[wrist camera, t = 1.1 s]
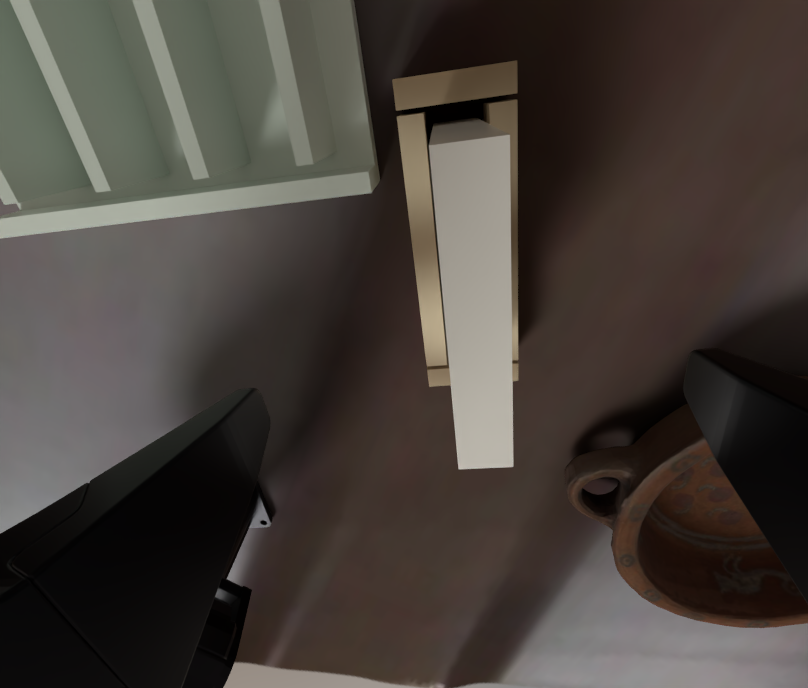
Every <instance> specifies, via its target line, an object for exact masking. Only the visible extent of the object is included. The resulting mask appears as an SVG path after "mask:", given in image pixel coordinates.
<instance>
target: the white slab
mask: <svg viewBox="0 0 808 688" xmlns="http://www.w3.org/2000/svg"><path fill="white" fill-rule="evenodd" d="M429 153H430V164H431V175H432V185H433V196H434V207H435V218H436V229H437V240H438V251H439V262H440V272H441V283H442V294H443V305H444V316H445V327H446V338H447V349H448V360H449V370H450V381H451V392H452V403H453V414H454V425H455V436H456V447H457V458H458V468H459V469H477V468H500V467H513V387H512V289H511V190H510V134H508V133H506V132H504V131H502V130H500V129H498V128H496V127H494V126H492V125H490V124H488V123H486V122H484V121H482V120H480V119H478V118H469V119H462V120H455V121H448V122H441V123H434V124H433V128H432V133H431V138H430V142H429Z"/></svg>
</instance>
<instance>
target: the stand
mask: <svg viewBox="0 0 808 688" xmlns="http://www.w3.org/2000/svg"><path fill="white" fill-rule="evenodd" d="M392 82H393V90H394V98H395V107H396V111H398V110H405V109H412V108H419V107H426V106H433V105H440V104H447V103H454V102H460V101H467V100H474V99H481V98H488V97H495V96H502V95H509V94H516V93H517V60H516V61H510V62H503V63H497V64H490V65H483V66H477V67H470V68H464V69H457V70H451V71H444V72H438V73H431V74H425V75H418V76H412V77H405V78H399V79H392ZM483 113H484V122H486V123H488V124H490V125H492V126H494V127H496V128H498V129H500V130H502V131H504V132H506V133H508V134H510V190H511V289H512V381H518V361H517V360H518V107H517V100H509V99H508V100H501V101H494V102H487V103H483ZM397 123H398V131H399V140H400V148H401V156H402V165H403V173H404V181H405V189H406V198H407V206H408V214H409V223H410V231H411V239H412V247H413V256H414V264H415V272H416V281H417V289H418V297H419V305H420V314H421V322H422V330H423V339H424V347H425V355H426V363H427V372H428V380H429V387H430V386H445V385H451V381H450V370H449V360H448V349H447V344H446V331H445V320H444V309H443V298H442V288H441V277H440V266H439V255H438V244H437V233H436V223H435V212H434V201H433V190H432V179H431V168H430V158H429V147H428V136H427V125H426V114H425V111H424V112H417V113H410V114H403V115H400V116H398V117H397Z"/></svg>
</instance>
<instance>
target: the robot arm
mask: <svg viewBox="0 0 808 688" xmlns="http://www.w3.org/2000/svg"><path fill="white" fill-rule="evenodd" d="M683 391H684V395H685V398H686V400H687V402H688V404H689V406H690V408H691V410H692V412H693V415H694V417H695V419H696V421H697V423H698V425H699V427H700V429H701V431H702V433H703V435H704V437H705V439H706V441H707V443H708V445H709V447H710V449H711V451H712V453H713V455H714V457H715V459H716V461H717V463H718V464H719V466H720V467H721V469H722V471H723V472H724V474H725V476H726V477H727V479H728V480H729V482H730V483H731V485H732V486H733V488H734V490H735V491H736V493H737V494H738V496H739V497H740V499H741V500H742V502H743V504H744V505H745V507H746V508H747V510H748V511H749V513H750V515H751V516H752V518H753V519H754V521H755V522H756V524H757V525H758V527H759V529H760V530H761V532H762V533H763V535H764V536H765V538H766V539H767V541H768V543H769V544H770V546H771V547H772V549H773V550H774V552H775V554H776V555H777V557H778V558H779V560H780V561H781V563H782V564H783V566H784V568H785V569H786V571H787V572H788V574H789V575H790V577H791V578H792V580H793V582H794V583H795V585H796V586H797V588H798V589H799V591H800V593H801V594H802V596H803V597H804V599H805V600H806V602H807V603H808V380H807V379H805V378H802V377H799V376H796V375H793V374H790V373H787V372H784V371H781V370H778V369H775V368H772V367H769V366H767V365H764V364H761V363H758V362H755V361H752V360H749V359H746V358H743V357H740V356H737V355H734V354H731V353H728V352H726V351H723V350H720V349H716V348H710V349H699V350H694V351H692V352H691V353H690V355H689V358H688V362H687V367H686V373H685V378H684V383H683ZM269 429H270V417H269V414H268V412H267V409H266V406H265V404H264V401H263V398H262V395H261V393H260V392H259V390H257V389H256V388H249V389H240V390H237V391H235V392H234V393H232V394H231V395H229V396H227V397H226V398H224V399H222V400H221V401H219V402H218V403H216V404H214V405H213V406H211V407H209V408H208V409H206V410H205V411H203V412H201V413H200V414H198V415H196V416H195V417H193V418H192V419H190V420H188V421H187V422H185V423H183V424H182V425H180V426H178V427H177V428H175V429H174V430H172V431H170V432H169V433H167V434H165V435H164V436H162V437H161V438H159V439H157V440H156V441H154V442H152V443H151V444H149V445H148V446H146V447H144V448H143V449H141V450H139V451H138V452H136V453H135V454H133V455H131V456H130V457H128V458H126V459H125V460H123V461H122V462H120V463H118V464H117V465H115V466H113V467H112V468H110V469H109V470H107V471H105V472H104V473H102V474H100V475H99V476H97V477H96V478H94V479H92V480H91V481H90V483H86V484H84V485H82V486H81V487H79V488H77V489H76V490H74V491H73V492H71V493H69V494H68V495H66V496H64V497H63V498H61V499H59V500H58V501H56V502H54V503H53V504H51V505H49V506H48V507H46V508H44V509H43V510H41V511H39V512H38V513H36V514H34V515H32V516H31V517H29V518H27V519H25V520H24V521H22V522H20V523H18V524H17V525H15V526H13V527H11V528H10V529H8V530H6V531H4V532H3V533H1V534H0V688H223V687H224V685H225V683H226V681H227V679H228V676H229V674H230V672H231V669H232V667H233V664H234V661H235V659H236V655H237V652H238V648H239V643H240V639H241V635H242V630H243V626H244V622H245V617H246V613H247V609H248V604H249V600H250V596H251V592H252V590H251V589H249V588H247V587H245V586H243V587H241V586H239V585H237V584H235V583H233V582H231V581H229V580H227V577H228V574H229V572H230V570H231V568H232V565H233V563H234V561H235V558H236V556H237V554H238V552H239V549H240V547H241V545H242V543H243V540H244V538H245V536H246V533H247V531H248V529H249V528H265V527H269V526H270V525H271V522H272V516H271V513H270V511H269V508H268V506H267V503H266V501H265V498H264V496H263V493H262V491H261V488H260V486H259V483H258V481H257V478H258V474H259V470H260V466H261V462H262V458H263V454H264V450H265V446H266V442H267V438H268V434H269Z"/></svg>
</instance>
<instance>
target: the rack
mask: <svg viewBox="0 0 808 688" xmlns="http://www.w3.org/2000/svg"><path fill="white" fill-rule="evenodd" d="M379 182H380V175H379V168H378V161H377V154H376V147H375V140H374V133H373V127H372V120H371V113H370V106H369V99H368V92H367V85H366V79H365V72H364V65H363V58H362V51H361V44H360V37H359V31H358V24H357V17H356V10H355V3H354V0H0V198H1V200H2V202H3V203H4V205H7V204H14V203H17V205H18V207H19V209H20V210H21V211H18V212H14V213H10V214H6V215H3V216H0V238H7V237H16V236H24V235H32V234H40V233H48V232H57V231H65V230H73V229H81V228H89V227H98V226H106V225H114V224H122V223H130V222H139V221H147V220H155V219H163V218H171V217H179V216H188V215H196V214H204V213H212V212H220V211H229V210H237V209H245V208H253V207H261V206H270V205H278V204H286V203H294V202H302V201H311V200H319V199H327V198H335V197H343V196H351V195H360V194H368V193H372V192H373V190H374V189H375V188H376V186H377V185H378V183H379Z"/></svg>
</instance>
